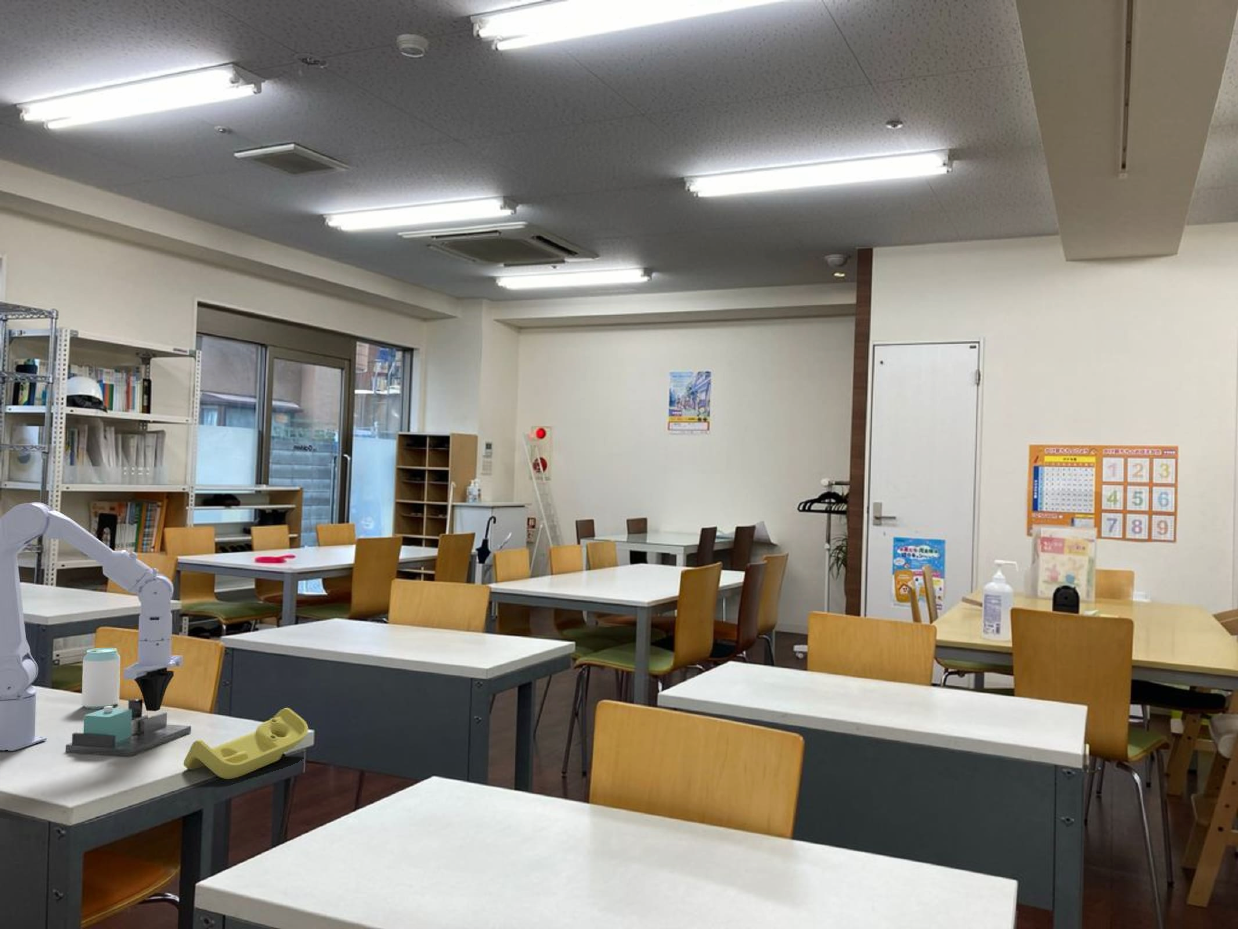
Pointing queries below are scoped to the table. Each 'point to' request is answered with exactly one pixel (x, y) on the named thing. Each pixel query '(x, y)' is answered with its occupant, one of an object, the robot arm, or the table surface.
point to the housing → (109, 722)
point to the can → (101, 678)
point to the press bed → (149, 736)
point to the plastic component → (250, 747)
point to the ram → (136, 714)
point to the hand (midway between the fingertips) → (153, 710)
